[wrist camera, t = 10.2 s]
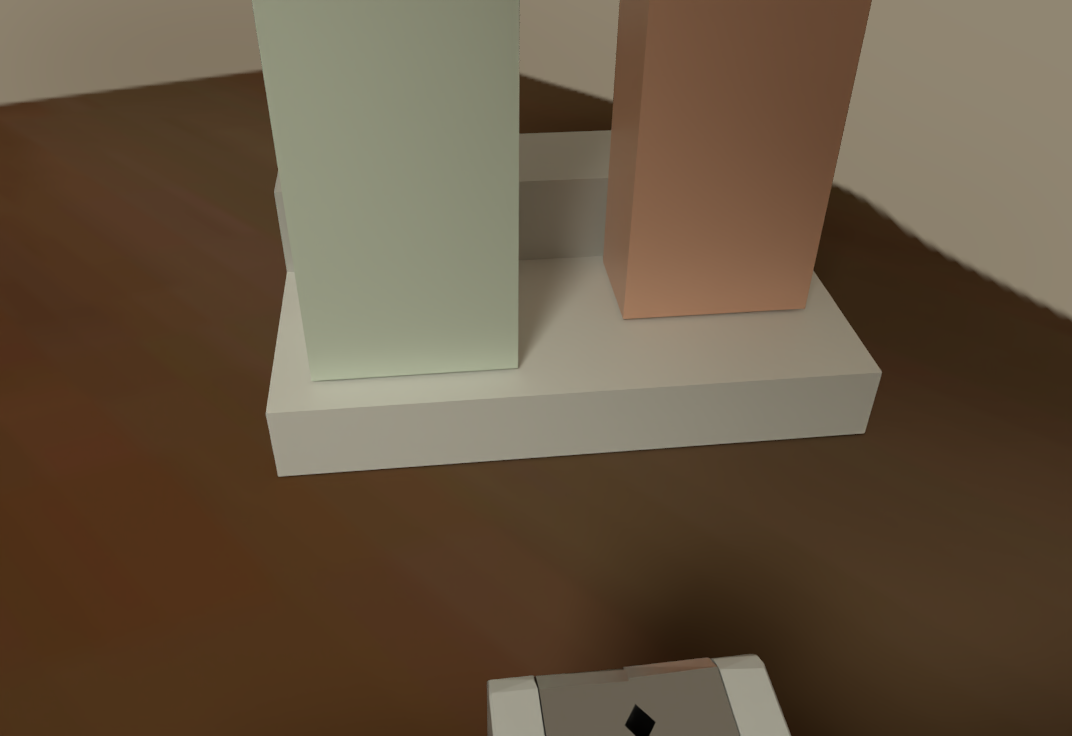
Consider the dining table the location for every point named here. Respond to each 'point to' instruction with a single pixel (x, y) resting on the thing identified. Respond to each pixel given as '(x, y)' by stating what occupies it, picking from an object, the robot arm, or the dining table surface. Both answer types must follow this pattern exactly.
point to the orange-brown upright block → (725, 150)
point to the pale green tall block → (398, 179)
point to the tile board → (576, 359)
